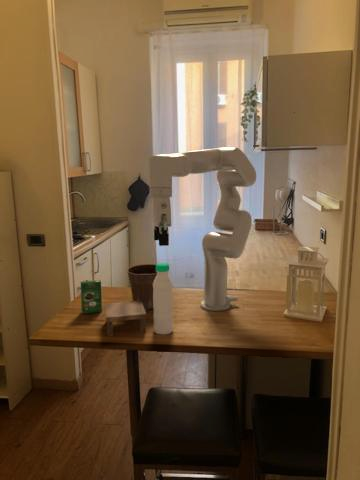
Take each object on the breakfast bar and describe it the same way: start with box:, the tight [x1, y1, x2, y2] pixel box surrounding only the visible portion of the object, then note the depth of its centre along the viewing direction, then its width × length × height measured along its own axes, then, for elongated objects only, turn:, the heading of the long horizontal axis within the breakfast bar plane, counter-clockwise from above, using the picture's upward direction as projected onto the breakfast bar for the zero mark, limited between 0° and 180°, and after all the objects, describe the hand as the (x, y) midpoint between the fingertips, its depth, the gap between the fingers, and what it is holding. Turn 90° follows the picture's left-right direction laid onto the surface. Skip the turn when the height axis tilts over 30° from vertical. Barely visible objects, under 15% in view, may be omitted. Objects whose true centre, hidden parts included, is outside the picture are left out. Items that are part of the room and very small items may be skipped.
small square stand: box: [104, 300, 147, 337], centre depth 141 cm, size 14×14×7 cm
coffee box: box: [80, 279, 103, 315], centre depth 155 cm, size 8×3×13 cm, turn 110°
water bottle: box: [152, 262, 174, 335], centre depth 135 cm, size 7×7×25 cm
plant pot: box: [126, 263, 157, 311], centre depth 161 cm, size 16×16×16 cm
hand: (161, 242), depth 131 cm, fingers open, 9 cm apart
